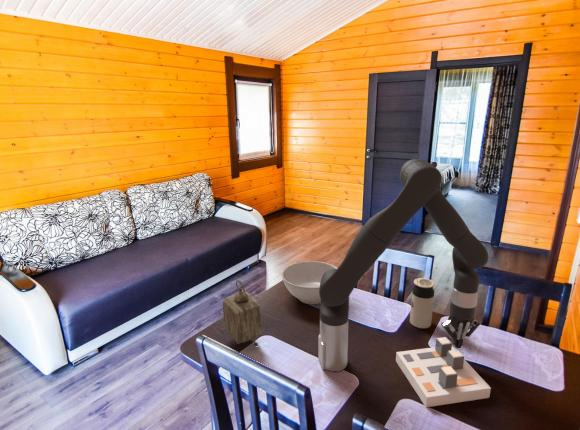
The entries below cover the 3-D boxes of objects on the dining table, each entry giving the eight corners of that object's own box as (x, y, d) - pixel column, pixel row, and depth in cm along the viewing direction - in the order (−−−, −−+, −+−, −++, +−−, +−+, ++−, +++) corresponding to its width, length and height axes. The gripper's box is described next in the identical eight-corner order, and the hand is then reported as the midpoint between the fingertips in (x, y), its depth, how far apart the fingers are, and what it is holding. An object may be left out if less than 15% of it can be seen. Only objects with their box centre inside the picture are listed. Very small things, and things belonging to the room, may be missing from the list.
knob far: (440, 356, 117) (442, 344, 116) (435, 349, 121) (436, 337, 119) (450, 355, 118) (452, 343, 116) (444, 348, 121) (446, 336, 120)
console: (425, 407, 103) (426, 396, 102) (395, 360, 122) (396, 351, 120) (489, 397, 105) (490, 387, 104) (450, 353, 124) (451, 344, 123)
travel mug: (431, 320, 144) (435, 279, 139) (430, 330, 137) (434, 288, 132) (411, 315, 147) (414, 276, 142) (408, 326, 140) (411, 284, 135)
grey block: (445, 388, 104) (446, 375, 103) (438, 379, 107) (439, 366, 106) (456, 386, 105) (457, 373, 103) (449, 378, 108) (450, 365, 106)
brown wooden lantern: (263, 348, 130) (259, 286, 123) (240, 357, 125) (235, 293, 118) (246, 328, 142) (242, 270, 134) (224, 336, 137) (219, 277, 130)
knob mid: (452, 370, 111) (453, 357, 110) (445, 362, 114) (447, 350, 113) (462, 368, 112) (464, 356, 110) (456, 361, 115) (457, 349, 114)
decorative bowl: (311, 278, 182) (311, 256, 178) (353, 297, 163) (354, 273, 159) (270, 297, 164) (269, 273, 161) (312, 321, 145) (312, 294, 142)
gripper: (451, 309, 110) (445, 356, 115) (490, 305, 112) (482, 351, 117) (438, 297, 117) (432, 342, 122) (474, 293, 119) (468, 337, 124)
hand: (457, 346), depth 120 cm, fingers closed
